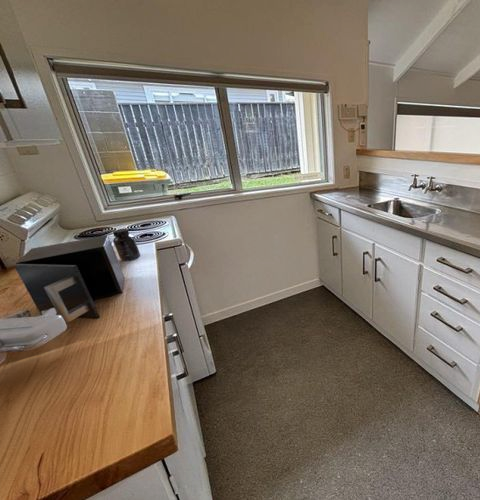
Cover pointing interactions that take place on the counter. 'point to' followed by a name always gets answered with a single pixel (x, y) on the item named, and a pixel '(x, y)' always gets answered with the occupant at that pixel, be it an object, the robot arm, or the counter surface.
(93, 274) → the cupboard
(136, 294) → the counter surface
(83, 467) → the counter surface
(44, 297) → the cupboard door
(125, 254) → the supplement bottle
